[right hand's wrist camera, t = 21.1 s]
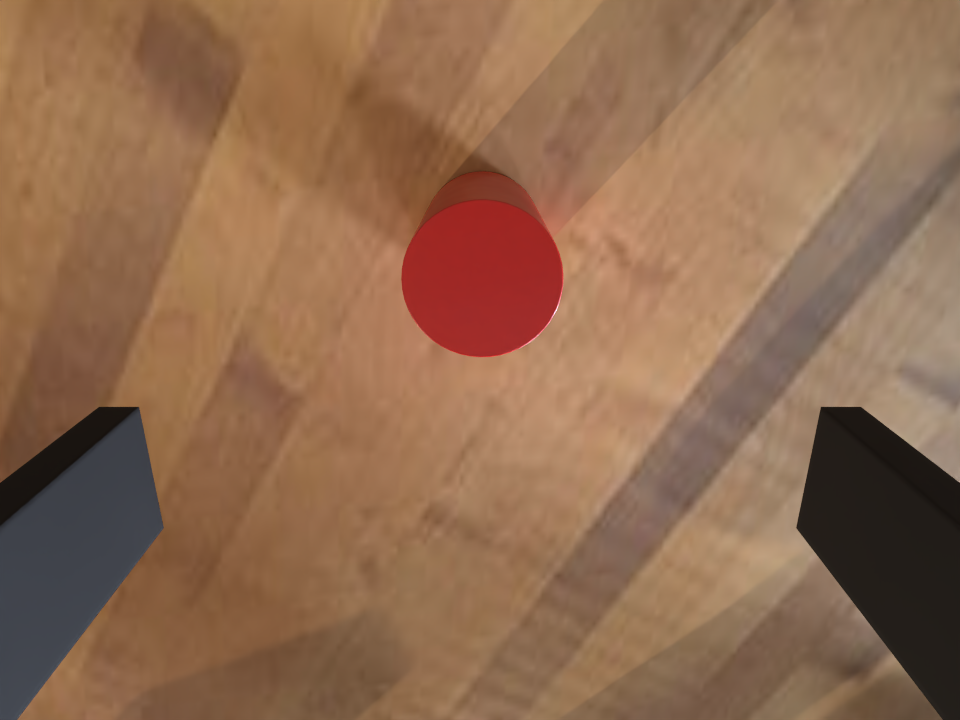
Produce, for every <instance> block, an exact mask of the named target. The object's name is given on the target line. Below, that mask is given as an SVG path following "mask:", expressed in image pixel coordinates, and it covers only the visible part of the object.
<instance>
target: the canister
mask: <svg viewBox="0 0 960 720" xmlns="http://www.w3.org/2000/svg"><path fill="white" fill-rule="evenodd" d="M562 289H563V267H562V261H561V258H560V254H559V251H558V249H557V246H556V244H555V242H554V240H553V238H552V236H551V235H550V233H549V231H548V229H547V227H546V225H545V223H544V221H543V219H542V218H541V216H540V214H539V212H538V210H537V208H536V206H535V204H534V203H533V201H532V199H531V197H530V196H529V195H528V193H527V192H526V191H525V190H524V189H523V188H522V187H521V186H520V185H519V184H518V183H516V182H515V181H514V180H512V179H510V178H508V177H506V176H504V175H501V174H498V173H493V172H486V171H480V172H472V173H467V174H464V175H461V176H459V177H457V178H455V179H453V180H451V181H450V182H448V183H447V184H446V185H445V186H444V187H442V188H441V190H440V191H439V192H438V193H437V194H436V196H435V197H434V199H433V200H432V202H431V204H430V206H429V208H428V210H427V212H426V213H425V215H424V217H423V219H422V221H421V223H420V225H419V227H418V229H417V231H416V232H415V234H414V236H413V238H412V240H411V242H410V244H409V246H408V248H407V251H406V254H405V257H404V261H403V266H402V290H403V295H404V299H405V302H406V305H407V308H408V310H409V312H410V314H411V316H412V318H413V319H414V321H415V322H416V324H417V325H418V327H419V328H420V329H421V330H422V331H423V332H424V333H425V334H426V335H427V336H428V337H429V338H430V339H432V340H433V341H434V342H436V343H437V344H439V345H440V346H442V347H444V348H446V349H448V350H450V351H453V352H456V353H459V354H462V355H467V356H474V357H492V356H498V355H503V354H506V353H510V352H512V351H514V350H517V349H519V348H521V347H523V346H524V345H526V344H528V343H529V342H530V341H532V340H533V339H534V338H536V337H537V336H538V335H539V334H540V333H541V332H542V331H543V330H544V329H545V327H546V326H547V325H548V324H549V322H550V321H551V319H552V317H553V316H554V314H555V312H556V310H557V307H558V305H559V302H560V298H561V295H562Z"/></svg>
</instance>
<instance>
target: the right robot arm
mask: <svg viewBox="0 0 960 720" xmlns="http://www.w3.org/2000/svg"><path fill="white" fill-rule="evenodd" d="M163 528H164V527H163V522H162V518H161V513H160V508H159V503H158V498H157V493H156V488H155V483H154V478H153V474H152V469H151V464H150V459H149V454H148V449H147V444H146V439H145V434H144V429H143V425H142V420H141V415H140V410H139V407H99V408H97V409H96V410H95V411H93V412H92V413H91V414H89V415H88V416H87V417H86V418H84V419H83V420H82V421H80V422H79V423H78V424H76V425H75V426H74V427H73V428H71V429H70V430H69V431H67V432H66V433H65V434H63V435H62V436H61V437H59V438H58V439H57V440H56V441H54V442H53V443H52V444H50V445H49V446H48V447H46V448H45V449H44V450H43V451H41V452H40V453H39V454H37V455H36V456H35V457H33V458H32V459H31V460H30V461H28V462H27V463H26V464H24V465H23V466H22V467H20V468H19V469H18V470H17V471H15V472H14V473H13V474H11V475H10V476H9V477H7V478H6V479H5V480H4V481H2V482H1V483H0V720H17V719H18V718H19V716H20V715H21V714H22V712H23V711H24V710H25V709H26V707H27V706H28V705H29V703H30V702H31V701H32V699H33V698H34V697H35V695H36V694H37V693H38V692H39V690H40V689H41V688H42V686H43V685H44V684H45V682H46V681H47V680H48V678H49V677H50V676H51V675H52V673H53V672H54V671H55V669H56V668H57V667H58V665H59V664H60V663H61V661H62V660H63V659H64V658H65V656H66V655H67V654H68V652H69V651H70V650H71V648H72V647H73V646H74V644H75V643H76V642H77V641H78V639H79V638H80V637H81V635H82V634H83V633H84V631H85V630H86V629H87V627H88V626H89V625H90V624H91V622H92V621H93V620H94V618H95V617H96V616H97V614H98V613H99V612H100V610H101V609H102V608H103V607H104V605H105V604H106V603H107V601H108V600H109V599H110V597H111V596H112V595H113V593H114V592H115V591H116V590H117V588H118V587H119V586H120V584H121V583H122V582H123V580H124V579H125V578H126V576H127V575H128V574H129V573H130V571H131V570H132V569H133V567H134V566H135V565H136V563H137V562H138V561H139V559H140V558H141V557H142V556H143V554H144V553H145V552H146V550H147V549H148V548H149V546H150V545H151V544H152V542H153V541H154V540H155V539H156V537H157V536H158V535H159V533H160V532H161V531H162V529H163ZM796 528H797V529H798V531H799V532H800V533H801V535H802V536H803V537H804V539H805V540H806V541H807V542H808V544H809V545H810V546H811V548H812V549H813V550H814V552H815V553H816V554H817V556H818V557H819V558H820V559H821V561H822V562H823V563H824V565H825V566H826V567H827V569H828V570H829V571H830V573H831V574H832V575H833V576H834V578H835V579H836V580H837V582H838V583H839V584H840V586H841V587H842V588H843V590H844V591H845V592H846V593H847V595H848V596H849V597H850V599H851V600H852V601H853V603H854V604H855V605H856V607H857V608H858V609H859V610H860V612H861V613H862V614H863V616H864V617H865V618H866V620H867V621H868V622H869V624H870V625H871V626H872V627H873V629H874V630H875V631H876V633H877V634H878V635H879V637H880V638H881V639H882V641H883V642H884V643H885V644H886V646H887V647H888V648H889V650H890V651H891V652H892V654H893V655H894V656H895V658H896V659H897V660H898V661H899V663H900V664H901V665H902V667H903V668H904V669H905V671H906V672H907V673H908V675H909V676H910V677H911V678H912V680H913V681H914V682H915V684H916V685H917V686H918V688H919V689H920V690H921V692H922V693H923V694H924V695H925V697H926V698H927V699H928V701H929V702H930V703H931V705H932V706H933V707H934V709H935V710H936V711H937V712H938V714H939V715H940V716H941V718H942V719H943V720H960V483H959V482H958V481H956V480H955V479H954V478H953V477H951V476H950V475H949V474H947V473H946V472H945V471H943V470H942V469H941V468H940V467H938V466H937V465H936V464H934V463H933V462H932V461H930V460H929V459H928V458H927V457H925V456H924V455H923V454H921V453H920V452H919V451H917V450H916V449H915V448H914V447H912V446H911V445H910V444H908V443H907V442H906V441H904V440H903V439H902V438H901V437H899V436H898V435H897V434H895V433H894V432H893V431H891V430H890V429H889V428H887V427H886V426H885V425H884V424H882V423H881V422H880V421H878V420H877V419H876V418H874V417H873V416H872V415H871V414H869V413H868V412H867V411H865V410H864V409H863V408H861V407H821V410H820V415H819V420H818V425H817V429H816V434H815V439H814V444H813V449H812V454H811V459H810V464H809V469H808V473H807V478H806V483H805V488H804V493H803V498H802V503H801V508H800V513H799V518H798V522H797V527H796Z"/></svg>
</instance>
